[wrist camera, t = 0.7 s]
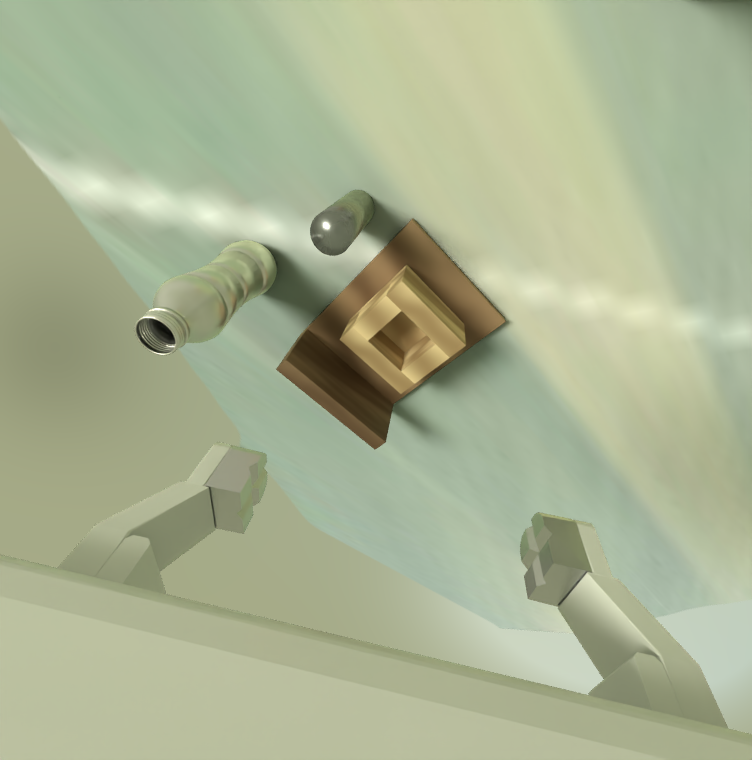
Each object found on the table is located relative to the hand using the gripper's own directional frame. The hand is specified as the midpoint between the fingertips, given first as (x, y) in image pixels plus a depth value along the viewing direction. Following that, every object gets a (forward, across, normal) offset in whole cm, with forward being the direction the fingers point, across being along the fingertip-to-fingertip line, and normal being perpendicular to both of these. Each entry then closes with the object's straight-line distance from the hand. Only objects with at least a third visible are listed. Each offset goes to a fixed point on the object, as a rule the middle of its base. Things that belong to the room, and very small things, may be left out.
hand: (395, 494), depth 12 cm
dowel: (+38, +8, 0) cm, 38 cm away
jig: (+38, +2, +13) cm, 40 cm away
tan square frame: (+36, +1, +12) cm, 38 cm away
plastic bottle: (+38, +20, +8) cm, 44 cm away
